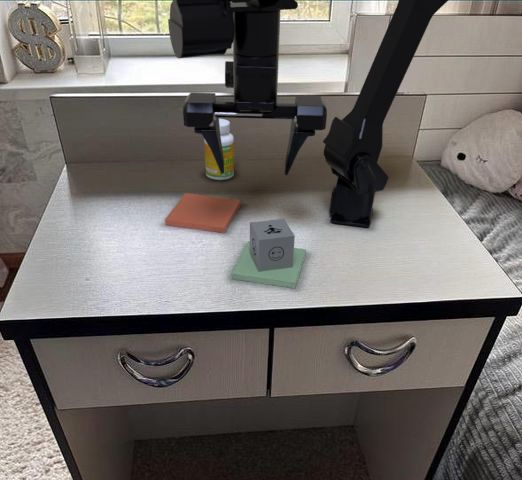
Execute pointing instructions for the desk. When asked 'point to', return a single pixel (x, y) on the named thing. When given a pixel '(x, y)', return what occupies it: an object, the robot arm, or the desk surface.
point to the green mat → (277, 277)
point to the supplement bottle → (228, 154)
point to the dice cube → (271, 244)
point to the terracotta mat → (203, 213)
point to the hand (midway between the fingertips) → (254, 173)
